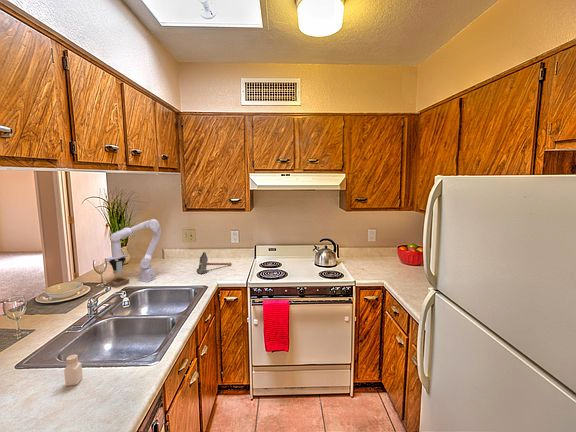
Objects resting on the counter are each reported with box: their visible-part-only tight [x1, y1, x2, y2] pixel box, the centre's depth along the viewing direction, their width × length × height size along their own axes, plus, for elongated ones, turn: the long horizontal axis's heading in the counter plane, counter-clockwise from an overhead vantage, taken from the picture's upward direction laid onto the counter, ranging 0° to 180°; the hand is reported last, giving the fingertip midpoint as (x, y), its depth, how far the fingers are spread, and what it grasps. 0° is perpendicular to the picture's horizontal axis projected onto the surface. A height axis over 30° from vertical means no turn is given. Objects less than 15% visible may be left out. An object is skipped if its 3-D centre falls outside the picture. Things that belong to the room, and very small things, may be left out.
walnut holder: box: [106, 276, 130, 289], centre depth 200 cm, size 9×9×3 cm
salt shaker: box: [63, 354, 83, 387], centre depth 102 cm, size 4×4×10 cm
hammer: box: [196, 251, 232, 274], centre depth 233 cm, size 6×16×30 cm
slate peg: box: [112, 260, 124, 275], centre depth 201 cm, size 4×4×8 cm
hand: (117, 269), depth 201 cm, fingers closed on slate peg, 4 cm apart
